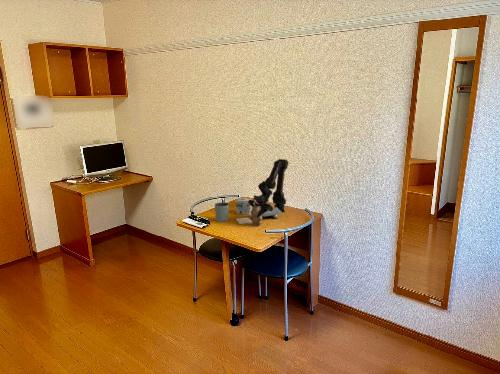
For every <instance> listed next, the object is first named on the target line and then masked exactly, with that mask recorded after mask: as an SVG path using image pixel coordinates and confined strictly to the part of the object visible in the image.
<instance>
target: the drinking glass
mask: <svg viewBox="0 0 500 374" xmlns="http://www.w3.org/2000/svg"><path fill="white" fill-rule="evenodd" d="M229 209H230V203H228V202H222V201H218V202H215V203H214V213H215V221H216V222H218V223H227V222H228V221H229Z"/></svg>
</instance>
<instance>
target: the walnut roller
mask: <svg viewBox="0 0 500 374" xmlns="http://www.w3.org/2000/svg"><path fill="white" fill-rule="evenodd" d="M260 209H261V207H260V206H253V207H252V215H251V216H252V226H253V227H260V226H261V221H260V216H259V217H257V216H258V214H259V212H260Z"/></svg>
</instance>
